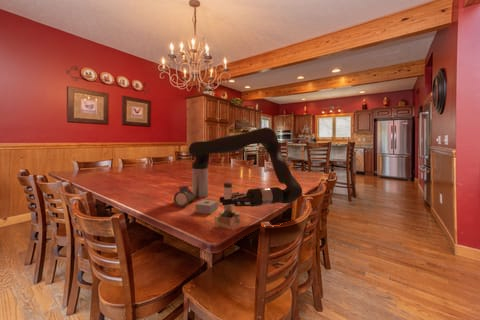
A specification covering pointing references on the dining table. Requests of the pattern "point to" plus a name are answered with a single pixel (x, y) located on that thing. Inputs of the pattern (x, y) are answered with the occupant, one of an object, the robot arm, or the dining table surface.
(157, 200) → the dining table surface
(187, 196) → the pipe fitting
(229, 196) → the pin
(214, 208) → the block
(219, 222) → the wooden square box frame
